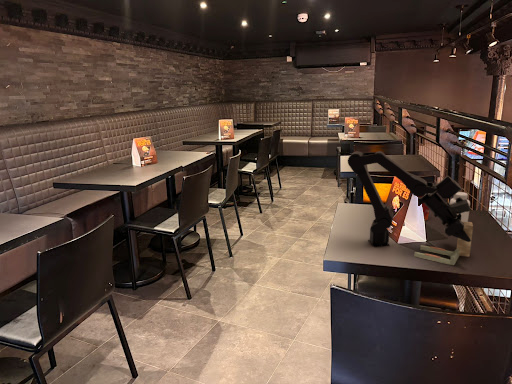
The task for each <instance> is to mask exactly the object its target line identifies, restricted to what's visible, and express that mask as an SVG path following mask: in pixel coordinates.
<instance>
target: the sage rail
mask: <svg viewBox="0 0 512 384" xmlns="http://www.w3.org/2000/svg"><path fill="white" fill-rule="evenodd" d="M419 250H421V251H425V252H430V253H431V254H430V253H422V252H418V251H414V255H413V257H414V258H415V257H416V258H420V259H425V260H429V261H431V262H432V261H433V262H437V263H441V264H444V265H445V264H446V265H450V266H455V265H456V262H457V261H458V259H459V258H460V256H459V252H460V249H456V248H455V250H454V251H453V250H447V249H445V248H441V247H437V246H436V247H435V246H427V245H424V244H423V245H422V244H421V245H420V249H419ZM432 253H435V254H439V255H434V254H432ZM440 255H445V256H448V257H450V259H449V258H445V257H441V256H440Z"/></svg>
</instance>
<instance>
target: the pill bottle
mask: <svg viewBox="0 0 512 384" xmlns="http://www.w3.org/2000/svg"><path fill="white" fill-rule="evenodd" d="M459 197H461V198H462V199H463V200H464V199H465V200H467V202H468V204H469V206H470V207H471V201H470V200H469V199H468V197H469V194H468V193H467V192H462V191H459V192H458V193H456V194H455V195H453V197H451V198H450V199H449V204H453V203H454V202H455V203H456V198H459ZM469 214H470V211H468V212H463V213H461V221H463V222H469V216H470V215H469ZM457 215H458V214H457Z"/></svg>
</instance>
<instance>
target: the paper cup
mask: <svg viewBox="0 0 512 384" xmlns="http://www.w3.org/2000/svg"><path fill="white" fill-rule="evenodd" d="M425 195H426V194H425ZM421 197H423V196H421ZM422 207H423V212H424V218H425V220H424V221H428V220H429V214H430V209H429V208H428V207H427V206H426V205H425V204H424V203H423V204H422Z"/></svg>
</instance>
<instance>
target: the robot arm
mask: <svg viewBox="0 0 512 384" xmlns="http://www.w3.org/2000/svg"><path fill="white" fill-rule="evenodd" d="M347 164H348V166H349V167H350V169H351V170H352V172H353V173H354V174H356V176H357V177H358V179H359V180H360V183H361V185H362V187H363V189H364V192H365V193H366V196H367V199H368V201H370V204H371V206H372V208H373V212H374V213H373V214H374V219H373V220H372V224H371V226H370V229H369V239H368V240H367V242H368V243H369V244H370V245H371V246H372V247H374V248H378V247H379V248H380V247H389V246H390V241H389V240H390V232H389V228H391V227H392V225H393V221H394V214H395V213H394V212H393V210H392V208H391V205H390V204H388V205H386V204H385V203H384V202H383V200H382V198H381V195H380V194H379V192H378V189H377V187H376V185H375V183H374V181H373V179H372V176H371V174H370V173H369V169H368V168H369V167H368V165H372V164H378V165H379V166H381V167H382V168H384V169H385V170H386V171H388V173H390V174H392V176H394V177H396V178H397V179H398V180H399V181H401V182H402V183H403V185H404V186H405V187H406V188H407V189H408V191H409V192H410V193H411V194H412V195H413V196H414V197H415V196H417V197H418V206H420V205H421V204H423V203H424V204H425V205H426V206H427V207H428V208H429V211H431V212H432V213H433V216H434V217H435V218H437V219H439V221H441V224H442V225H443V226H444V227H443V230H444V234H446V236H448V237H451V236H452V237H455V238H456V239H458V238H460V239H462V240H464V241H467V242H470V241H471V240H472V239H470V238H469V236H468V235H467V233H466V232H465V231H464V223H462V221H461V213H463V212H468V211H469V212H470V211H471V205H470V206H469V204H468V202H467V200H468V199H467V200H465V199H464V200H463V199H462V198H461V197H459V198H456V203H455V202H454V203H453V204H450V202H449V201H448V202H447V201H445V200H446V199H448V200H450V199H452V198H453V197H454V195H455V194H456V193H458V192H461V191H462V190H463V188H462V187H461V185H460V184H459V183H458V182H457V181H456V180H455V179H453V178H451V177H450V176H449V175H446V176H445V177H444V178H443V179H442V180H440V181H438V183H435V182H430V181H427V180H425V179H424V178H423V177H420V176H418V175H416V174H413V173H411V172H409V171H408V170H407V169H405V168H404V167H402V166H401V165H400V164H398V163H397V162H395V161H394V160H393V159H391V158H390V157H389V156H388V155H386V154H385V153H384V151H380V150H378V151H374V152H373V151H372V152H371V151H370V152H363V151H354V152H352V153H351V154H350V155H349V156H348V159H347ZM425 194H426V195H425ZM421 196H423V197H421ZM444 199H445V200H444ZM457 214H458V215H457Z"/></svg>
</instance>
